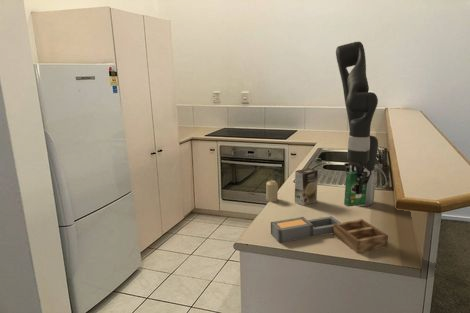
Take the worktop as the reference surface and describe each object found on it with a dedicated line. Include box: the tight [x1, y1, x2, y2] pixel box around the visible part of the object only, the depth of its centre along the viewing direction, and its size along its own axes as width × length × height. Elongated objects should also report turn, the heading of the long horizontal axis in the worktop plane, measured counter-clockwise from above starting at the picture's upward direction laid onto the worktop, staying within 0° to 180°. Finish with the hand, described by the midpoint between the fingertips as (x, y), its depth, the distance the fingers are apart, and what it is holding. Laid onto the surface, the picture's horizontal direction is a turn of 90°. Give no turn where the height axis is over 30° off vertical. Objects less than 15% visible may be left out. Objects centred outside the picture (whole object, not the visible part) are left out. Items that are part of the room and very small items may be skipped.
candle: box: [265, 179, 279, 202], centre depth 176 cm, size 6×6×10 cm
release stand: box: [270, 215, 342, 243], centre depth 141 cm, size 28×8×5 cm, turn 107°
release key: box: [276, 219, 307, 229], centre depth 140 cm, size 11×5×4 cm, turn 107°
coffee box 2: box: [343, 172, 367, 208], centre depth 133 cm, size 8×3×13 cm, turn 108°
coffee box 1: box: [294, 167, 319, 207], centre depth 171 cm, size 9×6×16 cm
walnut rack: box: [332, 218, 389, 254], centre depth 134 cm, size 13×15×4 cm
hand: (355, 192), depth 133 cm, fingers closed on coffee box 2, 3 cm apart
